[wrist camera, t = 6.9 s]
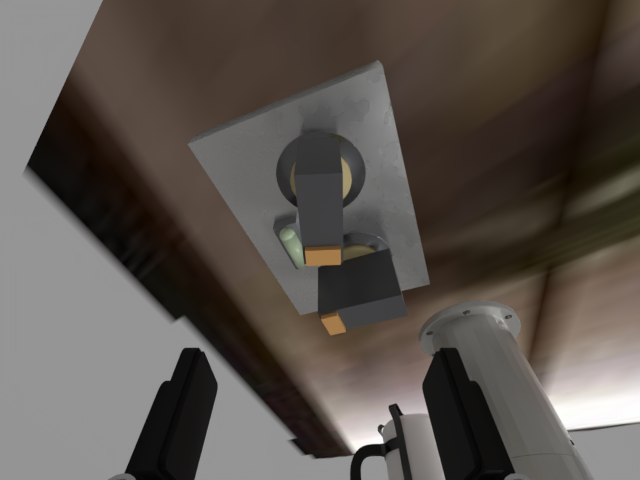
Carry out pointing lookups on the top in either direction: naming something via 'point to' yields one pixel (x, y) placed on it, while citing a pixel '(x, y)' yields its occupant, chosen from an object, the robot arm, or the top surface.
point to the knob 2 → (359, 290)
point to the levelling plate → (280, 155)
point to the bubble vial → (291, 240)
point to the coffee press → (404, 448)
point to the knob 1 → (320, 199)
